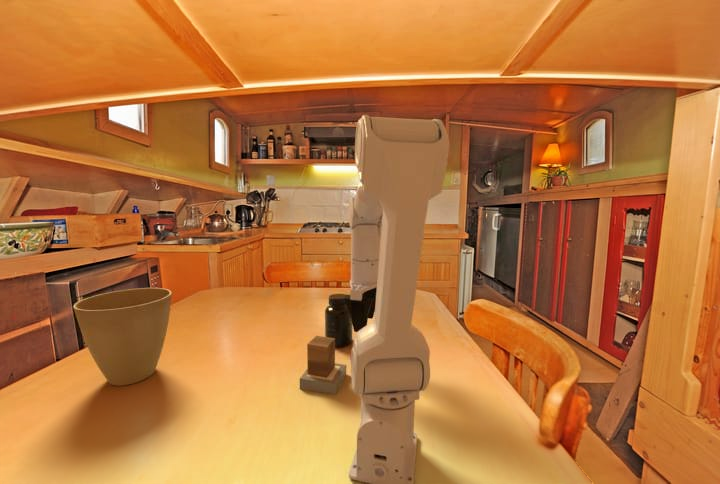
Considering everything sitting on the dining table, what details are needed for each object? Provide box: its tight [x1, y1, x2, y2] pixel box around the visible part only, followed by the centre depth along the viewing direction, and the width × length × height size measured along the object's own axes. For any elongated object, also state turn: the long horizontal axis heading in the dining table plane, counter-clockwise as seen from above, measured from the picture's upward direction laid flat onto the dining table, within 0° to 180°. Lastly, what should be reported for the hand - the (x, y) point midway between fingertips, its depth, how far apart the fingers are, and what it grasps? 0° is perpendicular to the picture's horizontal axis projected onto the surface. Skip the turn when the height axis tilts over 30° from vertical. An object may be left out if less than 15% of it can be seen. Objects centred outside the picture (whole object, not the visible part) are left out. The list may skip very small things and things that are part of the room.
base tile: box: [299, 362, 347, 395], centre depth 59 cm, size 7×7×2 cm
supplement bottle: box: [324, 293, 353, 349], centre depth 75 cm, size 7×7×12 cm
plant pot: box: [72, 287, 173, 387], centre depth 59 cm, size 15×15×16 cm
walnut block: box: [306, 335, 336, 378], centre depth 58 cm, size 4×4×6 cm
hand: (364, 324), depth 62 cm, fingers open, 7 cm apart
